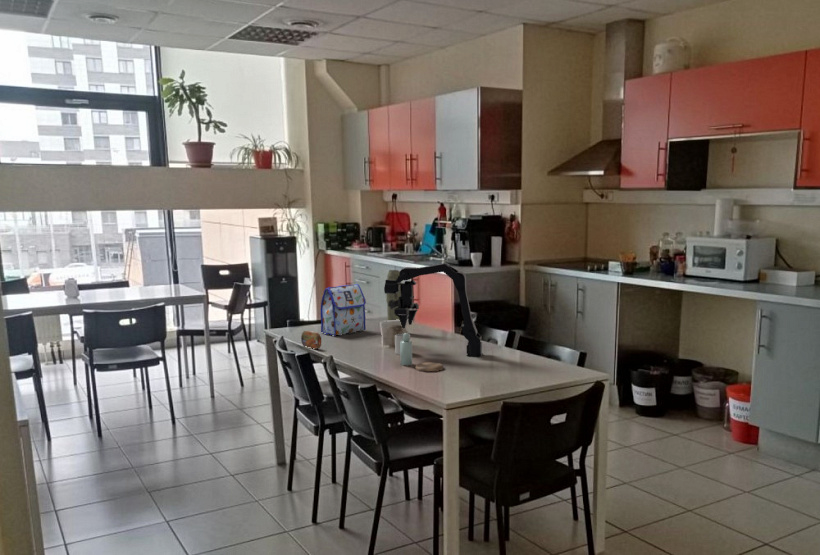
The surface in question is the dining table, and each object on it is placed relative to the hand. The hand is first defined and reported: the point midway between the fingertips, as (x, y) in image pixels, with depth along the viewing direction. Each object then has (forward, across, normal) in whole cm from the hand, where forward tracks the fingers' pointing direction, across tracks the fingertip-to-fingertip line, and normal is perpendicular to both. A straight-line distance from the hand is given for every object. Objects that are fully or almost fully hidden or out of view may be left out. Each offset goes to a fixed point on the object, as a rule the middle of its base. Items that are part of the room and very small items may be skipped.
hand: (406, 326), depth 310 cm
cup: (+13, 0, -3) cm, 14 cm away
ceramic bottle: (+13, +21, +7) cm, 26 cm away
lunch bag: (+13, -38, -51) cm, 65 cm away
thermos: (+13, -45, -23) cm, 52 cm away
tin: (+13, +2, -50) cm, 52 cm away
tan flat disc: (+13, +25, +19) cm, 34 cm away
